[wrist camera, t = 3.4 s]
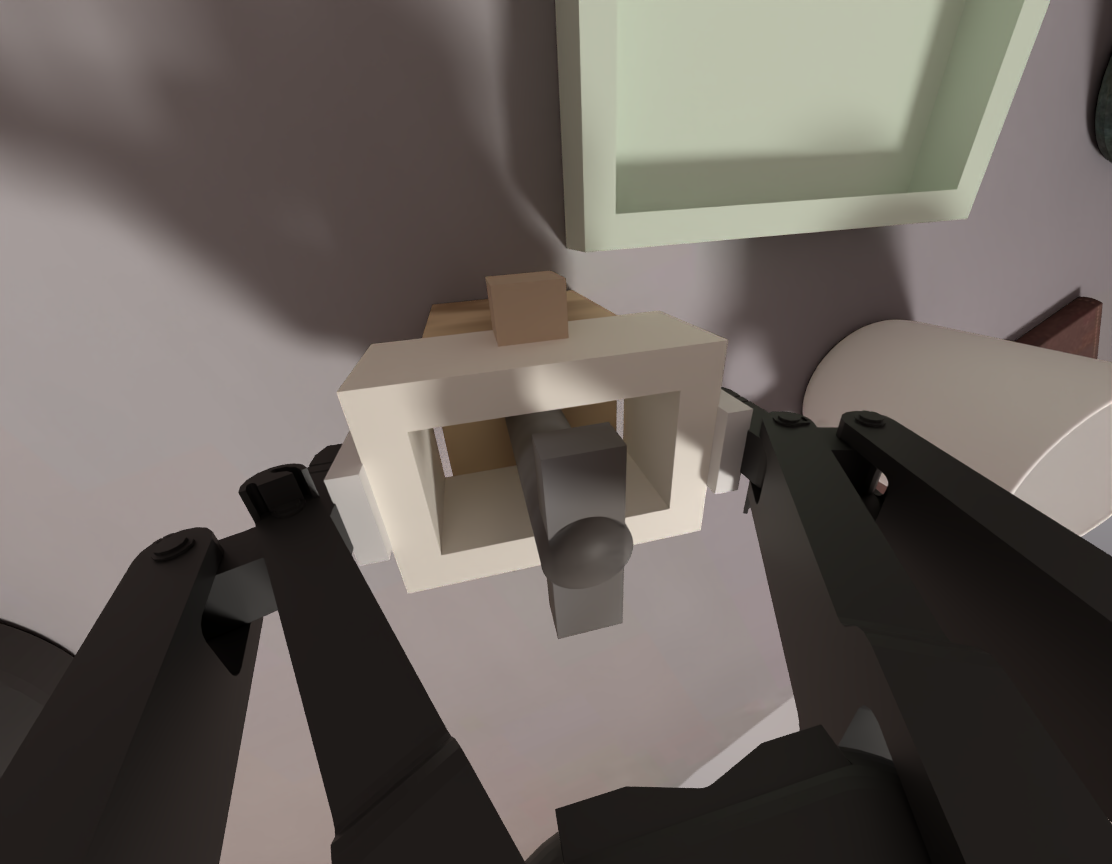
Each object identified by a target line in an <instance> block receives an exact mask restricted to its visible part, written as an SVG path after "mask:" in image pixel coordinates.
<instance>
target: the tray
mask: <svg viewBox="0 0 1112 864" xmlns="http://www.w3.org/2000/svg"><path fill="white" fill-rule="evenodd" d="M1049 3H1050V0H555V13H556V35H557V56H558V78H559V100H560V121H561V143H562V164H563V186H564V208H565V229H566V248H568V249H572V250H577V251H582V252H594V251H605V250H617V249H628V248H640V247H651V246H662V245H674V244H685V243H697V242H708V241H720V240H731V239H742V238H754V237H765V236H777V235H788V234H799V233H811V232H822V231H834V230H845V229H856V228H868V227H879V226H891V225H902V224H913V223H925V222H936V221H948V220H959V219H967V218H968V216H969V213H970V210H971V208H972V205H973V202H974V200H975V197H976V195H977V192H978V189H979V187H980V184H981V181H982V179H983V176H984V174H985V171H986V168H987V166H988V163H989V160H990V158H991V155H992V153H993V150H994V147H995V145H996V142H997V139H998V137H999V134H1000V132H1001V129H1002V126H1003V124H1004V121H1005V118H1006V116H1007V113H1008V111H1009V108H1010V105H1011V103H1012V100H1013V97H1014V95H1015V92H1016V90H1017V87H1018V84H1019V82H1020V79H1021V76H1022V74H1023V71H1024V69H1025V66H1026V63H1027V61H1028V58H1029V55H1030V53H1031V50H1032V47H1033V45H1034V42H1035V40H1036V37H1037V34H1038V32H1039V29H1040V26H1041V24H1042V21H1043V19H1044V16H1045V13H1046V11H1047V8H1048V5H1049Z"/></svg>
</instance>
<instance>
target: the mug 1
mask: <svg viewBox="0 0 1112 864" xmlns="http://www.w3.org/2000/svg"><path fill="white" fill-rule="evenodd" d="M863 410H865V411H870V412H871V411H873V412H877V413H879V414H881V415H884V416H887V417H889V418H891V419H893V420H895V421H897V422H898V423H900V424H902V425H903V426H905V427H906V428H908V429H909V430H911V431H913V432H914V433H916V434H917V435H919V436H921V437H922V438H924V439H925V440H927V441H929V442H930V443H932V444H933V445H935V446H937V447H938V448H940V449H941V450H943V451H945V452H946V453H948V454H949V455H951V456H953V457H954V458H956V459H957V460H959V461H960V462H962V463H964V464H965V465H967V466H968V467H970V468H972V469H973V470H975V471H976V472H978V473H980V474H981V475H983V476H984V477H986V478H988V479H989V480H991V481H992V482H994V483H996V484H997V485H999V486H1000V487H1002V488H1003V489H1005V490H1007V491H1008V492H1010V493H1011V494H1013V495H1015V496H1016V497H1018V498H1019V499H1021V500H1023V501H1024V502H1026V503H1027V504H1029V505H1031V506H1032V507H1034V508H1035V509H1037V510H1039V511H1040V512H1042V513H1043V514H1045V515H1046V516H1048V517H1050V518H1051V519H1053V520H1054V521H1056V522H1058V523H1059V524H1061V525H1062V526H1064V527H1066V528H1067V529H1069V530H1070V531H1072V532H1074V533H1075V534H1077V535H1078V536H1080V537H1081V536H1082V535H1084V534H1086V533H1087V532H1089V531H1090V530H1092V529H1094V528H1095V527H1097V526H1098V525H1099V524H1101V523H1102V522H1104V521H1105V520H1106V519H1108V518H1109V517H1110V516H1111V515H1112V362H1108V361H1103V360H1098V359H1093V358H1089V357H1084V356H1079V355H1074V354H1070V353H1065V352H1060V351H1055V350H1051V349H1046V348H1041V347H1036V346H1031V345H1027V344H1022V343H1017V342H1012V341H1008V340H1003V339H998V338H993V337H989V336H984V335H979V334H974V333H969V332H965V331H960V330H955V329H950V328H946V327H941V326H936V325H931V324H927V323H921V322H916V321H909V320H885V321H880V322H876V323H873V324H870V325H867V326H864V327H862V328H860V329H858V330H856V331H855V332H853V333H851V334H850V335H848V336H847V337H846V338H844V339H843V340H842V341H840V342H839V343H838V344H837V345H836V346H835V347H834V348H833V349H832V350H831V351H830V352H829V353H828V354H827V355H826V356H825V357H824V359H823V360H822V361H821V362H820V364H819V365H818V367H817V368H816V370H815V371H814V373H813V375H812V377H811V379H810V381H809V384H808V386H807V389H806V392H805V396H804V401H803V416H805V417H807V418H809V419H811V420H812V421H813V422H814V423H815V425H816V426H817V427H838V426H839V422H840V419H841V416H842V414H844V413H846V412H850V411H863ZM879 482H880V483H882V484H884V485H885V486H888V481H887V478H886V476H885V475H884V474H883V473H882V474H881V476H880V479H879Z"/></svg>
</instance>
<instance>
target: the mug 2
mask: <svg viewBox="0 0 1112 864" xmlns="http://www.w3.org/2000/svg"><path fill="white" fill-rule="evenodd" d="M1095 130H1096V140H1097V143H1098V146H1099V149H1100V151H1101V152H1102V154H1103V156H1104V157H1105V158H1106V159H1107V160H1109V161H1110V162H1111V163H1112V56H1111V58H1110V61H1109V64H1108V67H1107V69H1106V72H1105V75H1104V78H1103V82H1102V85H1101V89H1100V92H1099V97H1098V103H1097V108H1096V120H1095Z"/></svg>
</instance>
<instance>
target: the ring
mask: <svg viewBox="0 0 1112 864" xmlns="http://www.w3.org/2000/svg"><path fill="white" fill-rule="evenodd" d="M485 278H486V286H487V293H488V300H489V307H490V314H491V321H492V329H493V330H489V331H480V332H472V333H463V334H454V335H446V336H437V337H429V338H420V339H411V340H403V341H394V342H386V343H377V344H371V345H370V346H369V348H368V349H367V351H366V352H365V353H364V355H363V356H362V358H361V359H360V360H359V362H358V363H357V365H356V366H355V367H354V369H353V370H352V372H351V373H350V374H349V376H348V377H347V378H346V380H345V381H344V383H343V384H342V385H341V387H340V388H339V390H338V391H337V395H338V398H339V401H340V403H341V406H342V409H343V412H344V415H345V417H346V420H347V423H348V426H349V429H350V432H351V434H352V437H353V440H354V443H355V446H356V449H357V451H358V454H359V457H360V460H361V463H362V464H363V465H364V468H365V471H366V474H367V477H368V480H369V482H370V485H371V488H372V491H373V494H374V497H375V499H376V502H377V505H378V508H379V511H380V514H381V516H382V519H383V522H384V525H385V528H386V531H387V533H388V536H389V539H390V542H391V545H392V550H393V553H394V556H395V559H396V562H397V564H398V567H399V570H400V573H401V576H402V579H403V581H404V584H405V587H406V590H407V593H408V594H409V593H414V592H418V591H423V590H427V589H432V588H437V587H441V586H446V585H450V584H455V583H460V582H464V581H469V580H474V579H478V578H483V577H487V576H492V575H497V574H501V573H506V572H511V571H515V570H520V569H524V568H529V567H534V566H538V565H541V562H540V558H539V554H538V550H537V546H536V542H535V538H534V534H533V530H532V526H531V522H530V518H529V514H528V510H527V506H526V502H525V498H524V494H523V490H522V486H521V482H520V478H519V473H518V469H517V465H515V466H510V467H504V468H498V469H492V470H486V471H481V472H475V473H469V474H463V475H458V476H452V477H446V478H445V476H444V471H443V467H442V463H441V459H440V455H439V451H438V446H437V442H436V438H435V434H434V430H433V428H437V427H444V426H450V425H457V424H463V423H470V422H477V421H483V420H490V419H496V418H503V417H509V416H516V415H522V414H529V413H536V412H542V411H549V410H555V409H562V408H568V407H575V406H581V405H588V404H595V403H601V402H608V401H614V400H621V399H624V431H623V441H624V442H625V443H626V445H627V465H626V504H625V523H626V525H627V527H628V529H629V530H630V532H631V535H632V538H633V545H635V544H640V543H645V542H649V541H654V540H658V539H663V538H668V537H672V536H677V535H681V534H686V533H691V532H695V531H700V530H701V524H702V517H703V510H704V503H705V496H706V489H707V478H708V471H709V464H710V457H711V450H712V443H713V436H714V430H715V423H716V416H717V409H718V406H719V400H720V393H721V386H722V379H723V373H724V366H725V359H726V352H727V345H728V340H727V339H724V338H722V337H720V336H717V335H715V334H713V333H710V332H708V331H706V330H703V329H701V328H698V327H696V326H694V325H691V324H689V323H687V322H684V321H682V320H680V319H677V318H675V317H673V316H670V315H668V314H665V313H663V312H661V311H652V312H644V313H635V314H627V315H618V316H609V317H601V318H592V319H584V320H575V321H568V314H567V294H566V278H564V277H562V276H560V275H558V274H556V273H554V272H552V271H541V272H531V273H520V274H509V275H499V276H488V277H485Z"/></svg>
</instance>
